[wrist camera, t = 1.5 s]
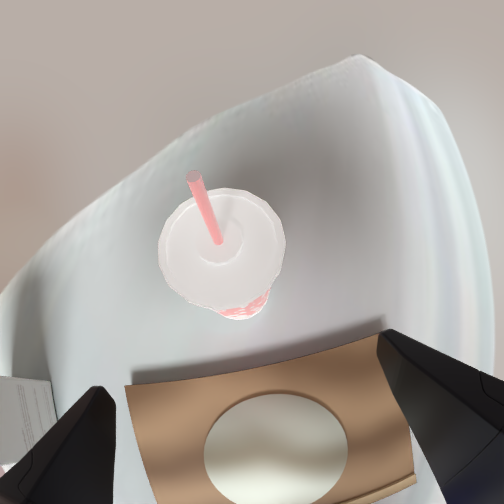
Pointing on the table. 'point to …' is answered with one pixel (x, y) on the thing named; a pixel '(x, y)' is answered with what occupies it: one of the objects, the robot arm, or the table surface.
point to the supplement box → (23, 416)
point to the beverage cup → (222, 249)
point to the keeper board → (276, 433)
